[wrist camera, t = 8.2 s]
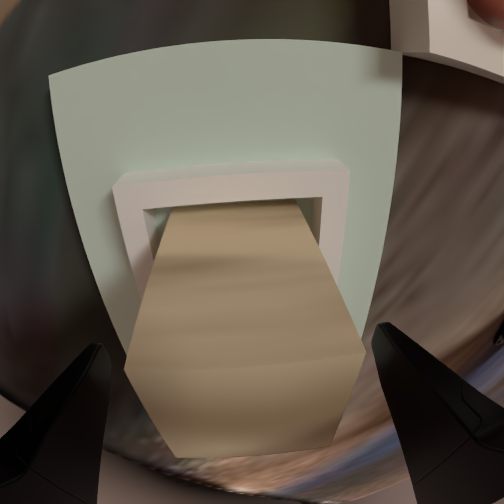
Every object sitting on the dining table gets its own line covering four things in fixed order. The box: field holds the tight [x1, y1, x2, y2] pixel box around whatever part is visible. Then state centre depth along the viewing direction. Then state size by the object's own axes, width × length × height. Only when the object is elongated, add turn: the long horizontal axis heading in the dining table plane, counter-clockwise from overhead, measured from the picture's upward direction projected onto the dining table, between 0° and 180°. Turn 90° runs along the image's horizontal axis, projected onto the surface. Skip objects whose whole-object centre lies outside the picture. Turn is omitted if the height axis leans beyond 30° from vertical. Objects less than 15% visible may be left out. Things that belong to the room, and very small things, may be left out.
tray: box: [49, 39, 402, 355], centre depth 14 cm, size 18×14×2 cm
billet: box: [124, 200, 366, 458], centre depth 11 cm, size 5×5×8 cm
